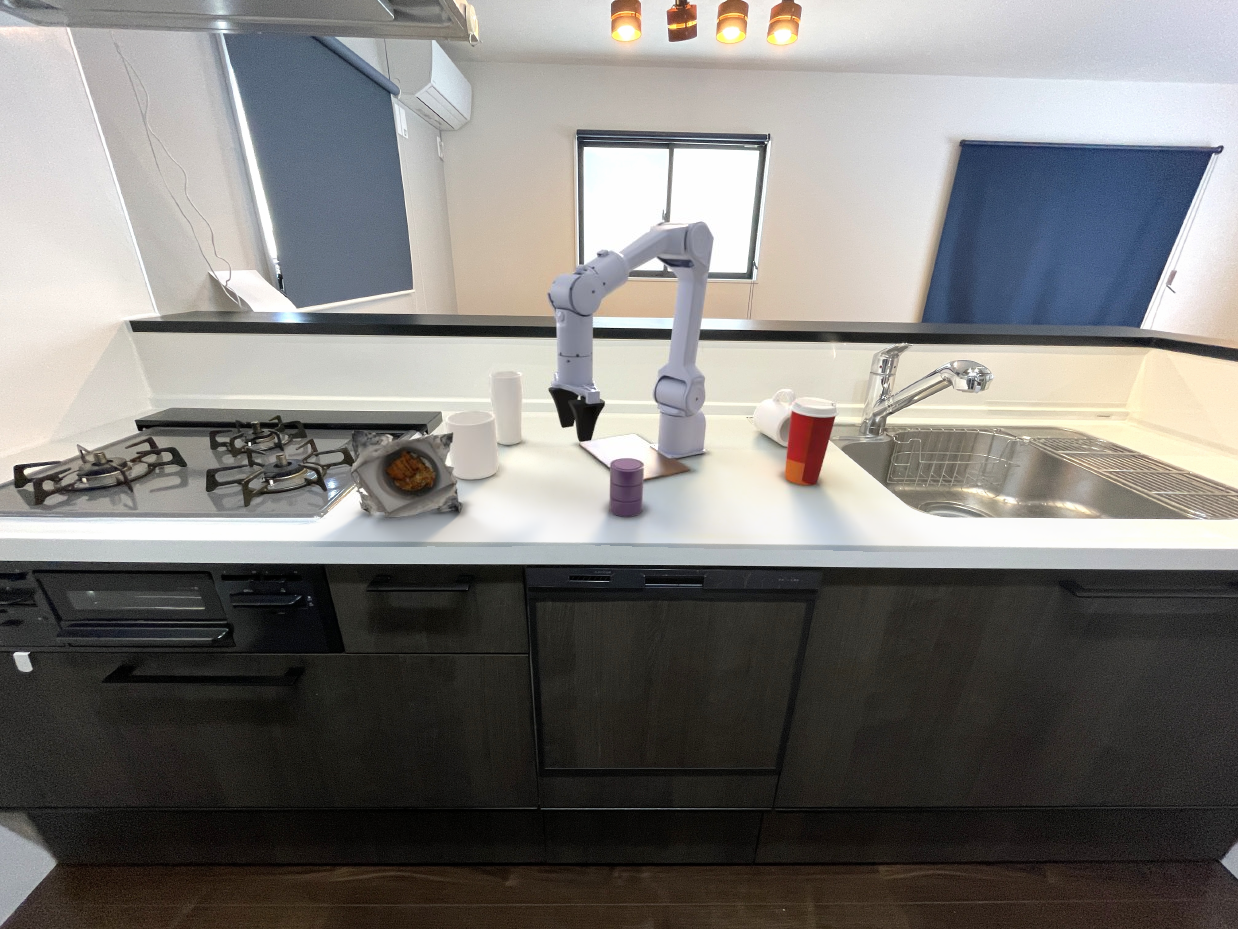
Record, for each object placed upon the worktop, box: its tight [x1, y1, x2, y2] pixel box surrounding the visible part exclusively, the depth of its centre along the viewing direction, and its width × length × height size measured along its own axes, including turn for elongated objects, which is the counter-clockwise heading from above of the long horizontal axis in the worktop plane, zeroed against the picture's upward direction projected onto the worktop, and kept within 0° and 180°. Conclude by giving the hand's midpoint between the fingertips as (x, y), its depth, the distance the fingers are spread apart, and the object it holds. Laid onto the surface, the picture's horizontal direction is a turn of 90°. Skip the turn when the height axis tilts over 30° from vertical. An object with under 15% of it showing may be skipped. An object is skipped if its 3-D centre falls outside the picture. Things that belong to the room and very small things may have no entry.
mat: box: [578, 433, 692, 482], centre depth 102 cm, size 14×22×1 cm, turn 28°
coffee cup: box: [784, 396, 839, 486], centre depth 91 cm, size 8×8×15 cm
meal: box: [349, 429, 464, 519], centre depth 76 cm, size 15×4×13 cm, turn 98°
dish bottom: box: [608, 495, 644, 518], centre depth 81 cm, size 5×5×3 cm
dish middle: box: [609, 480, 644, 502], centre depth 79 cm, size 5×5×3 cm
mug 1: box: [444, 409, 500, 481], centre depth 93 cm, size 9×12×11 cm
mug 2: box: [752, 388, 797, 447], centre depth 111 cm, size 8×10×12 cm
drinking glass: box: [488, 370, 524, 446], centre depth 105 cm, size 7×7×15 cm
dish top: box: [609, 458, 644, 487], centre depth 78 cm, size 5×5×3 cm
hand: (575, 433), depth 85 cm, fingers open, 7 cm apart
